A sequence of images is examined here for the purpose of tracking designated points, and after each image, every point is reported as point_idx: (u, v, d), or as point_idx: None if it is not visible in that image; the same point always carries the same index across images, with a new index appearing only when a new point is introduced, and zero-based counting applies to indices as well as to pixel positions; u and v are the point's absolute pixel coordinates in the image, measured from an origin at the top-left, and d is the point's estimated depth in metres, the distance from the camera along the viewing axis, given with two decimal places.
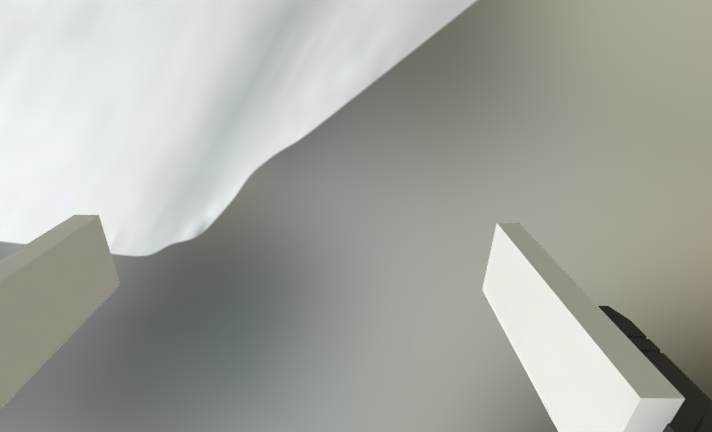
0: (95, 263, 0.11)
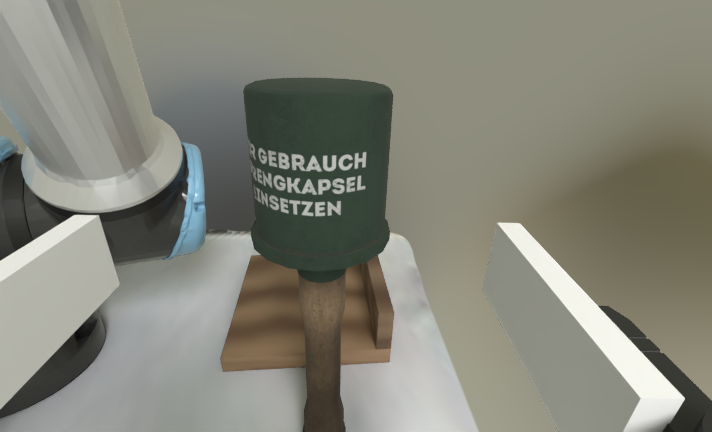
0: (95, 263, 0.11)
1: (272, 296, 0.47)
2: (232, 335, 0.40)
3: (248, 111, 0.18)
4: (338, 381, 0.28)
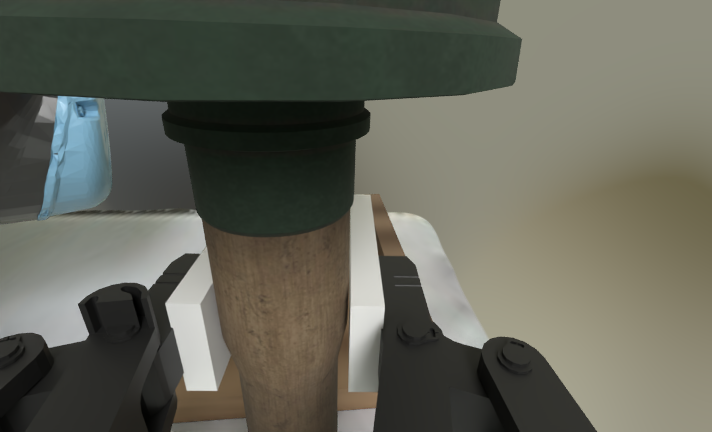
0: None
1: None
2: None
3: None
4: None
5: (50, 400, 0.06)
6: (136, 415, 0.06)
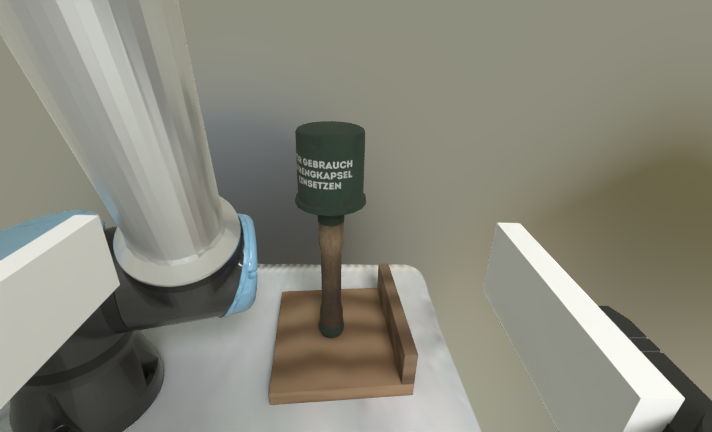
0: (95, 263, 0.11)
1: (306, 333, 0.53)
2: (276, 372, 0.47)
3: (298, 141, 0.39)
4: (340, 288, 0.49)
5: None
6: None
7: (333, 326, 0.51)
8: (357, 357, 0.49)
